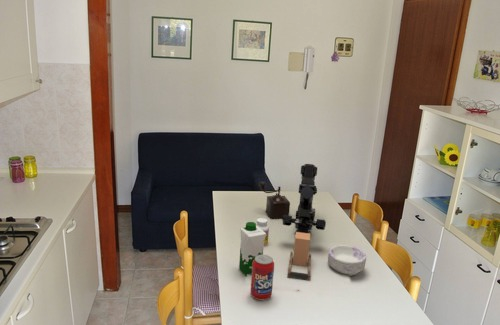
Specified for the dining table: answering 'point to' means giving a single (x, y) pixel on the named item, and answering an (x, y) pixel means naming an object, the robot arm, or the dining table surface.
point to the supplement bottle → (263, 228)
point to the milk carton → (250, 246)
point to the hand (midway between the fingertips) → (302, 240)
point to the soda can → (262, 277)
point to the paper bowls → (346, 259)
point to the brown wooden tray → (296, 274)
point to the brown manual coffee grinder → (276, 204)
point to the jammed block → (301, 249)
